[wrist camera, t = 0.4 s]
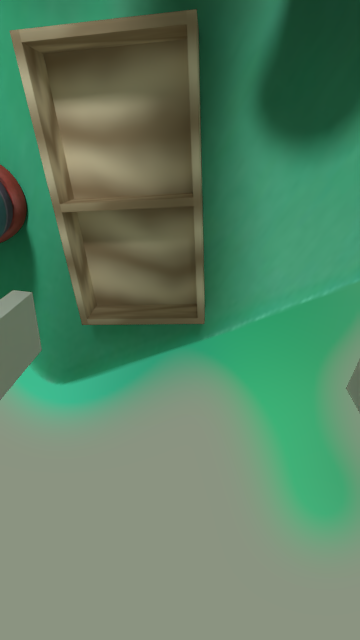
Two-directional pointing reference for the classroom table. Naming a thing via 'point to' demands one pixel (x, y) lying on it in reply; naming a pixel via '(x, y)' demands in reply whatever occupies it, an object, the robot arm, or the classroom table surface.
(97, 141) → the divided wooden tray
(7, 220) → the stacking bear
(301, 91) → the classroom table surface
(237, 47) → the classroom table surface
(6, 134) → the classroom table surface
